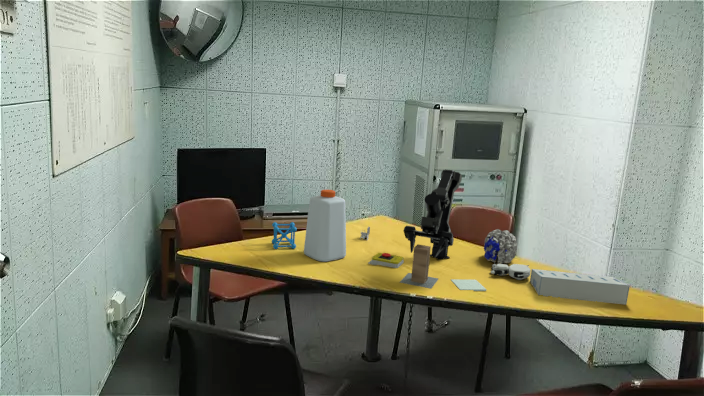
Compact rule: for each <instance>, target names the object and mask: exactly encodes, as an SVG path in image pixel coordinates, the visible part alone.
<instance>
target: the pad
mask: <svg viewBox="0 0 704 396" xmlns="http://www.w3.org/2000/svg"><path fill="white" fill-rule="evenodd" d="M450 281H451V282H452V283H453V284H454V285H455V286H456V287H457V289H459V290H460V291H473V292H487V288H486V287H485V286H483V285H482V283H480V282H479V281H478V280H477V279H457V278H456V279H455V278H454V279H452V278H451V279H450Z"/></svg>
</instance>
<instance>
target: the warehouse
mask: <svg viewBox="0 0 704 396" xmlns="http://www.w3.org/2000/svg"><path fill="white" fill-rule="evenodd" d="M529 282H530V284H531V286H532V287H533V288H534V290H535V292H536V293H537V295H538V296H539V295H543V296H542V297H548V296H552V297H551V298H558V297H560V299H569V300H577V299H578V301H589V302H596V301H597V303H607V304H616V305H618V304H619V305H626V306H627V304H628V299H629V291H630V285H629V284H627V283H626V282H624V281H621V280H620V279H618V278H616V277H615V276H608V275H607V276H606V275H596V274H587V273H577V272H566V271H559V270H558V271H556V270H545V269H536V268H531V269H530V279H529Z"/></svg>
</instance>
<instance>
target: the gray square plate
mask: <svg viewBox="0 0 704 396" xmlns="http://www.w3.org/2000/svg"><path fill="white" fill-rule="evenodd" d="M411 276H412V272H407V274H405V276H404V277H403V278H402V279H401V280H400V281H399V283H401V284H405V285H410V286H415V287H419V288H420V287H421V288H426V289H432V288H433V287H434V286H435V285H436V283H437V282H438V281H439V278H437V277H431V276H428V280H427V281H426V282H425V283H424V284H423V283H418V282H413V281H411Z"/></svg>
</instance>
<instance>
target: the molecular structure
mask: <svg viewBox="0 0 704 396" xmlns="http://www.w3.org/2000/svg"><path fill="white" fill-rule="evenodd" d="M271 226H272V227H273V238H272V240H271V243H272V244H273V245H272V248H273V249H274V250H277V249H279V248H290V249H293V250H294V249H296V248H297V244H296V243H295V241H296V240H295V238H296V237H295V236H296V233H295V232H297V229H298V228H297V227H296V224H295V222H290V223H278V222H276V221H273V223H272V224H271ZM279 226H280V227H281V226H287V227H288V228H282V227H281V228H279ZM283 231H285V232H283ZM278 233H279V234H281V235H280V236H279V237H278ZM288 234H290V238H289V237H288V236H287V235H288ZM284 239H286V240H284ZM280 243H289V245H285V244H284V245H279V244H280Z"/></svg>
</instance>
